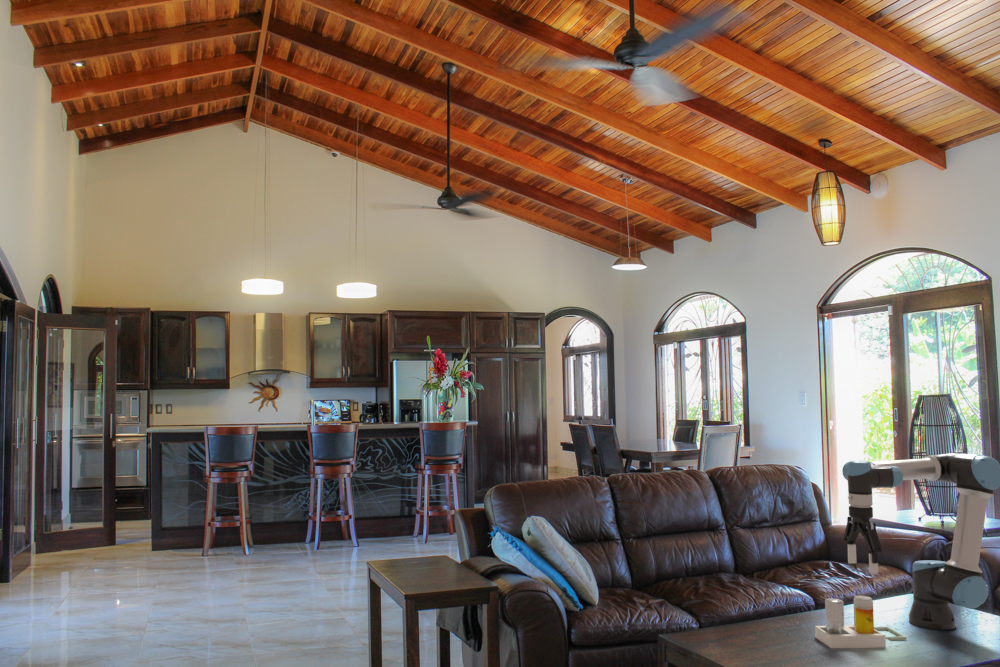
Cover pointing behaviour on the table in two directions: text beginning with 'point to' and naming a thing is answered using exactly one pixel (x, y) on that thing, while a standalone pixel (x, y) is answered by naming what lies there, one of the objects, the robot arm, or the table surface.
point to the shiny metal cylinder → (834, 616)
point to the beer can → (863, 615)
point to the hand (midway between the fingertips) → (862, 567)
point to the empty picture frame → (901, 637)
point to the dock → (850, 638)
